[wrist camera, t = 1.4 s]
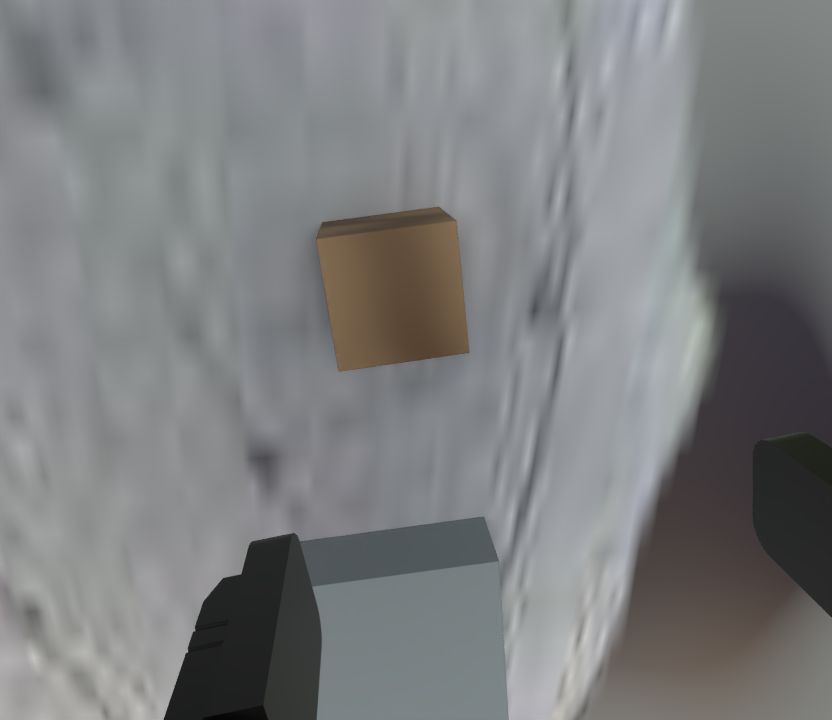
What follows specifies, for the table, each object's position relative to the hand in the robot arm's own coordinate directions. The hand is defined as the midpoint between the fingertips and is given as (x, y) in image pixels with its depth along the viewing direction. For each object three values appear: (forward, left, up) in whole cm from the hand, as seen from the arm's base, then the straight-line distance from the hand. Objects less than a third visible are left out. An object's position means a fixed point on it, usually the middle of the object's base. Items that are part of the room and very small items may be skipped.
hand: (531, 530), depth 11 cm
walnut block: (-1, +1, -19) cm, 19 cm away
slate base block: (-3, -17, -19) cm, 26 cm away
